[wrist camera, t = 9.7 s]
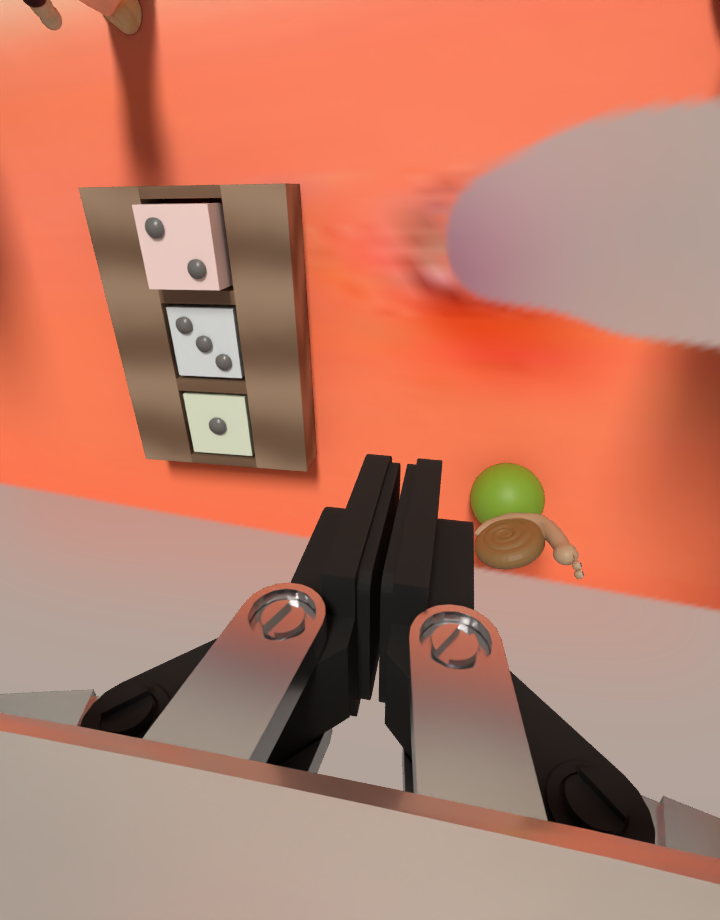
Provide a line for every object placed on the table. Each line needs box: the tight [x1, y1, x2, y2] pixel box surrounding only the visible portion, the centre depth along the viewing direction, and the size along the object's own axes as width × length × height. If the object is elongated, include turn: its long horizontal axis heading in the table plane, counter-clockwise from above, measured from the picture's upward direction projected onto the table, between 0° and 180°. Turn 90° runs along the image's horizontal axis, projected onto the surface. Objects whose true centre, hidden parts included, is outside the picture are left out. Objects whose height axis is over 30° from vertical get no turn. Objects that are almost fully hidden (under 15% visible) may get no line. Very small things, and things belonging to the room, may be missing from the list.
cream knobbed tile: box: [183, 391, 255, 456], centre depth 40 cm, size 5×5×3 cm
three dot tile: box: [166, 304, 245, 378], centre depth 37 cm, size 5×5×3 cm
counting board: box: [79, 184, 317, 472], centre depth 37 cm, size 20×14×3 cm
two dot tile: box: [132, 203, 233, 290], centre depth 33 cm, size 5×5×3 cm
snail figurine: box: [470, 463, 584, 579], centre depth 35 cm, size 5×6×12 cm
